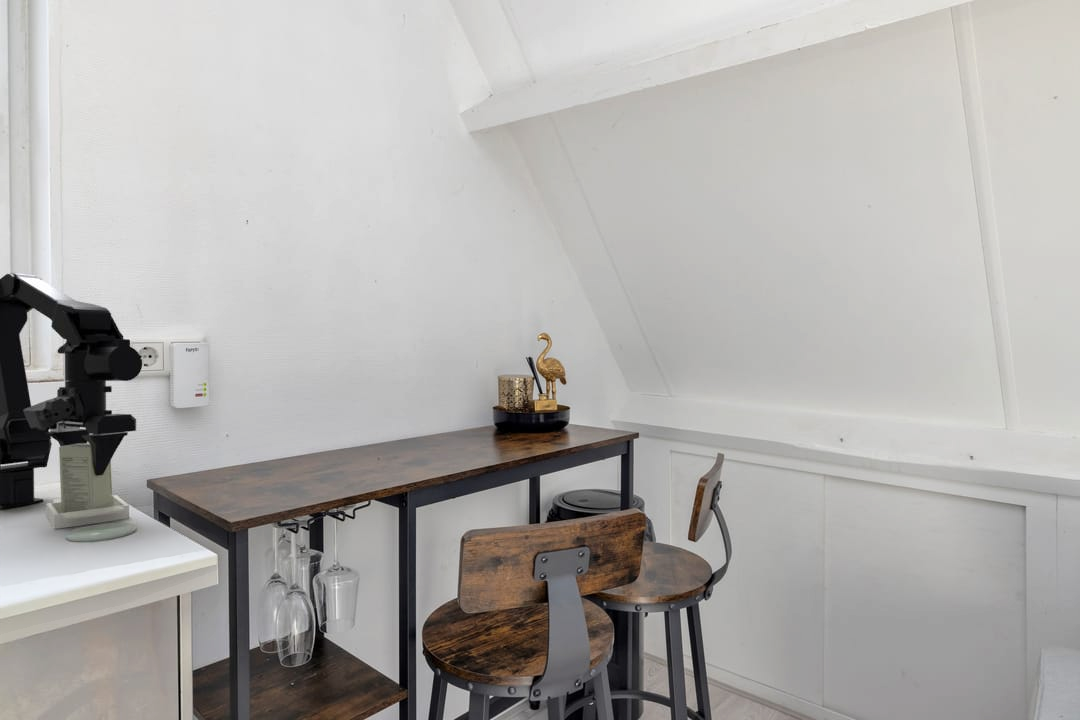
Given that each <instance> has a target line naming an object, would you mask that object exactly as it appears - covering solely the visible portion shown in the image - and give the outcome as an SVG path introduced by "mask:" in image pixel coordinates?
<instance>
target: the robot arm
mask: <svg viewBox="0 0 1080 720" xmlns="http://www.w3.org/2000/svg"><path fill="white" fill-rule="evenodd" d="M33 309H34V310H35V311H37V312H38V313H40V314H42V315H43V316H45V317H47V318H48V319H49V320H50V321H51V328H52V330H54V331H55V332H56V333H57V334H58V335H59V336H60V338H62V339H63V340H65V343H63V345H61V346H60V347H59V348H58V349H57V353H58V354H59V355H60V354H62V355H63V354H64V386H59V387H58V389H57V393H56V395H57V396H56V397H54V398H51V399H50V398H49V399H47V400H44V401H41V402H39V403H36V404H34V405H32V402H31V396H30V390H29V383H28V378H27V372H26V366H25V360H24V356H23V349H22V343H21V336H20V335H21V332H22V330H23V329H24V326H25V325H26V324H27V322H28V313H29V312H30V311H32V310H33ZM142 368H143V359H142V358H141V356H140V354H139V352H138V351H137V350H136V349H135V348H133V347H132V346H131V340H130V338H129V339H127V338H126V339H125V338H124V335H123V334H122V332H121V331H120V329H119V327H118V326H117V323H116V321H115V320H114V318H113V316H112V313H111V312H110V310H109V309H108V308H107V307H105V306H104V307H103V306H102V305H99V304H98V305H97V304H94V303H88V302H84V301H79V300H76V299H74V298H72V297H70V296H68V295H67V294H65V293H63V291H60V290H59V289H57V288H55V287H54V286H52V285H51V284H48V283H47V282H45V281H44V280H43V278H41V276H38V275H36V274H29V273H18V272H17V273H16V272H11V273H6V274H5V275H3V276H2V277H1V278H0V509H9V508H15V507H20V506H27V505H32V504H39V503H43V502H44V498H39V497H35V469H38V468H47V466H48V462H49V459H50V453H51V450H52V449H51V448H52V445H53V443H52V439H54V440H55V441H57V442H58V443H59V447H61V446H65V445H71V444H78V443H90V445H91V450H92V458H93V466H94V471H95V475H96V476H99V475H103V474H104V472H105V470H106V468H107V466H108V464H109V462H110V460H111V461H112V459H113V457H114V455H115V453H116V452H117V449H118V448H119V446H120V444H121V442H123V440H124V438H125V437H126V436H128V435H129V433H128V432H136V431H137V419H136V418H135V416H133V414H131V413H113V410H111V409H107V393H112V386H111V385H107V382H109V381H110V382H113V381H114V382H129V381H132V380H134V379H135V378H137V376H139V374H140V373H141V371H142Z"/></svg>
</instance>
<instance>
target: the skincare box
mask: <svg viewBox="0 0 1080 720" xmlns="http://www.w3.org/2000/svg"><path fill="white" fill-rule="evenodd" d="M58 453H59V475H60V476H59V477H60V479H59V480H60V481H59V482H60V499H61V507H62V513H68V512H75V511H83V510H91V509H99V508H106V507H113V505H112V495H113V489H112V485H113V484H112V459H111V460H110V462H109V464H108V466H107V468H106V470H105V472H104V474H103V475H99V476H96V475H95V471H94V466H93V458H92V450H91V445H90V443H89V442H87V443H78V444H71V445H65V446H59V447H58Z"/></svg>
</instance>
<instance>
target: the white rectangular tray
mask: <svg viewBox="0 0 1080 720" xmlns="http://www.w3.org/2000/svg"><path fill="white" fill-rule="evenodd" d="M51 501H52V502H49V503H48V502H47V503H46V505H45V506H46V509H45V510H46V513H45V514H46V517H47V519H48V520H49V523H50V525H51V526H52V528H53V529H54V530H57V529H63V528H65V529H66V528H70V527H79V526H87V525H94V524H101V523H108V522H112V521H119V520H124V518H125V519H129V518H130V505H129V503H127V502H126V501H125V500H123V499H122V498H121V497H120V496H118V495H117V494H112V507H106V508H99V509H91V510H83V511H75V512H68V513H62V507H61V498H57V499H52V500H51Z"/></svg>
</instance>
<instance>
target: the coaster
mask: <svg viewBox="0 0 1080 720" xmlns="http://www.w3.org/2000/svg"><path fill="white" fill-rule="evenodd" d="M136 531H137V525H136V524H135V523H132V522H104V523H96V524H90V525H85V526H81V527H77V528H75V529H72V530H69V531H67V532H66V533H65V540H66V541H69V542H76V543H77V542H78V543H85V542H86V543H87V542H99V541H106V540H114V539H117V538H121V537H126V536H128V535H132V534H133V533H135V532H136Z"/></svg>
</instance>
